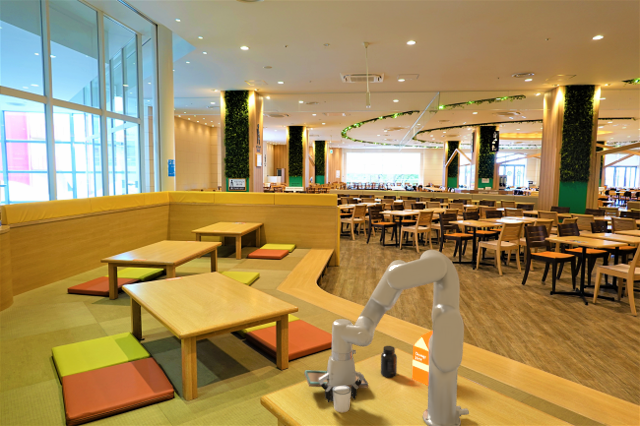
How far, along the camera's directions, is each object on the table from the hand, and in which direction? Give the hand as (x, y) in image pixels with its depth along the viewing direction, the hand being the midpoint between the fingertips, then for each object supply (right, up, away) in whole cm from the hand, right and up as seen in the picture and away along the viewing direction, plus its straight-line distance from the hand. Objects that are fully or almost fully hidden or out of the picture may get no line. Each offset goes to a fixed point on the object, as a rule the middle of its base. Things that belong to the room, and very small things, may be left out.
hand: (340, 399), depth 142 cm
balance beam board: (-1, +2, +12) cm, 12 cm away
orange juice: (+37, -2, +22) cm, 43 cm away
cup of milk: (0, -4, 0) cm, 4 cm away
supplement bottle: (+22, -2, +26) cm, 34 cm away
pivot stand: (-1, -3, +12) cm, 12 cm away
